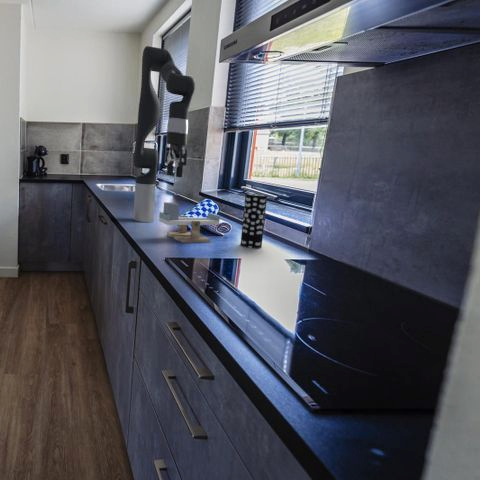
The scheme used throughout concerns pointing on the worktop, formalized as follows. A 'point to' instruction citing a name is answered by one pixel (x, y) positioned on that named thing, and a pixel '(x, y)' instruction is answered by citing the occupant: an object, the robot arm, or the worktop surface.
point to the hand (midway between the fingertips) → (174, 176)
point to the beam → (189, 220)
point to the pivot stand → (189, 233)
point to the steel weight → (171, 210)
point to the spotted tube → (253, 220)
